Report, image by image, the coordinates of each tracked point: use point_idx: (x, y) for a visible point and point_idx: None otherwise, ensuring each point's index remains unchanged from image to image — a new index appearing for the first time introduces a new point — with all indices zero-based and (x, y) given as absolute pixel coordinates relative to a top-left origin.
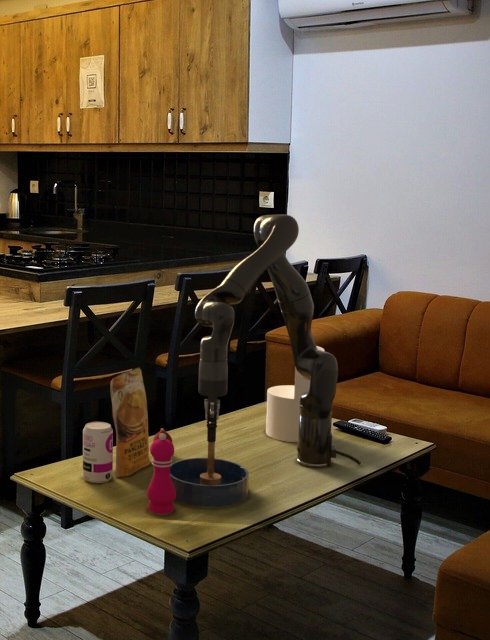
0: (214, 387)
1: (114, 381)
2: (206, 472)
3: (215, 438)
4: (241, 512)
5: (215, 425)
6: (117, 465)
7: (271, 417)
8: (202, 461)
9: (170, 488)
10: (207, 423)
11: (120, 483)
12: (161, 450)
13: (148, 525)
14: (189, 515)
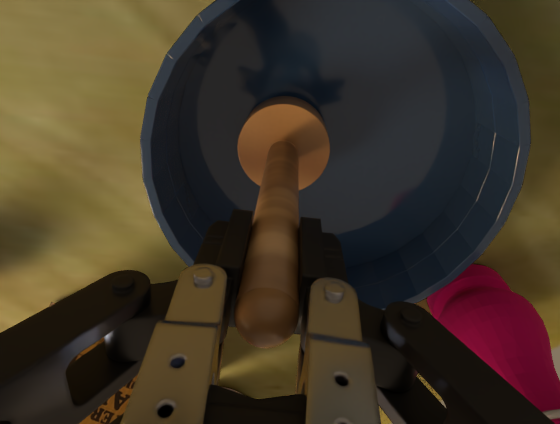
0: None
1: None
2: (241, 163)
3: (320, 229)
4: (537, 32)
5: (447, 339)
6: None
7: None
8: (159, 181)
9: (547, 337)
10: (439, 416)
11: (248, 368)
12: None
13: (555, 325)
14: (515, 222)
